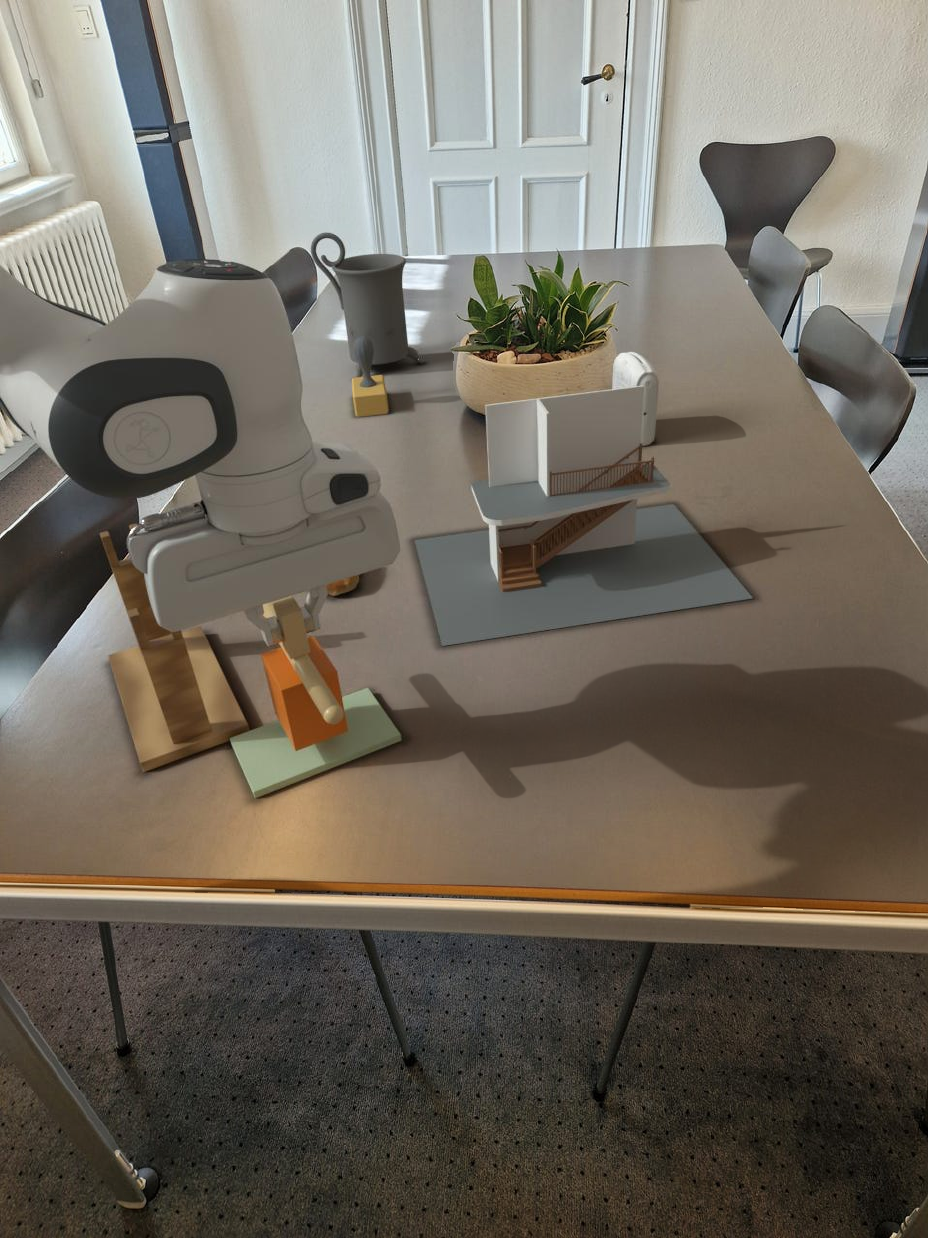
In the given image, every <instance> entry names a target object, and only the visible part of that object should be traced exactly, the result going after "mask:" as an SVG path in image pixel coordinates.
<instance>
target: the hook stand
mask: <svg viewBox="0 0 928 1238" xmlns="http://www.w3.org/2000/svg"><path fill="white" fill-rule="evenodd" d="M137 525H138V523H133V524H129V525H128V527H129V530H130V531H131V530H132V529H133V528H134V527H135V526H137ZM130 531H129V532H130ZM138 532H139V531H138ZM99 536H100V539H101V542H102V545H103V548H104V550H105V554H106V556H107V559H108V563H109V565H110V568H111V571H112V574H113V576H114V580H115V582H116V586H117V588H118V590H119V594H120V596H121V599H122V602H123V605H124V608H125V611H126V614H127V617H128V620H129V622H130V623H129V624H130V625H131V628H132V631H133V634H134V637H135V639H136V644H137V645H136V646H133V647H129V648H126V649H123V650H120V651H117V652H114V653H111V654H108V655H107V656H108V660H109V663H110V667H111V670H112V674H113V676H114V680H115V683H116V686H117V691H118V693H119V697H120V701H121V703H122V707H123V711H124V714H125V717H126V720H127V723H128V727H129V731H130V734H131V737H132V738H131V739H132V741H133V744H134V748H135V751H136V755H137V757H138V761H139V764H140V767H141V769H142V772H143V773H146V772H148V771H152V770H154V769H156V768H159V767H162V766H164V765H167V764H170V763H173V762H175V761H178V760H182V759H184V758H187V757H190V756H192V755H194V754H197V753H201V752H203V751H205V750H208V749H211V748H213V747H216V746H219V745H222V744H224V743H227V742H228V743H229V742H231V741H230V738H231V737H234V736H237V735H240V734H242V733H245V732H248V731H251V730H250V727H249V724H248V721H247V719H246V718H245V715H244V713H243V711H242V709H241V707H240V704H239V702H238V701H237V699H236V696H235V695H234V692H233V690H232V688H231V686H230V683H229V682H228V680H227V678H226V675H225V673H224V671H223V669H222V667H221V665H220V663H219V660H218V658H217V656H216V655H215V652H214V649H212V647H211V644H210V642H209V640H208V638H207V636H206V633H205V632H204V630H203V627H202V626H201V625H200V626H199V625H198V626H195V627H192V628H189V629H186V630H181V631H177V632H171V631H168V630H166V629H165V628H163V627H161V626H159V624H158V623H157V620H156V618H155V616H154V613H153V610H152V607H151V604H150V600H149V596H148V592H147V588H146V582H145V576H144V573H142V572H140V571H139V570H138V569H136V568H135V566H134V565H133V563H132V560H131V557H129V558H128V557H127V558H125V559H121V560H119V559H118V556H117V553H116V551H115V548H114V544H113V541H112V538H111V535H110V533H109V531H108V530H105V531H102V532H99Z"/></svg>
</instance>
